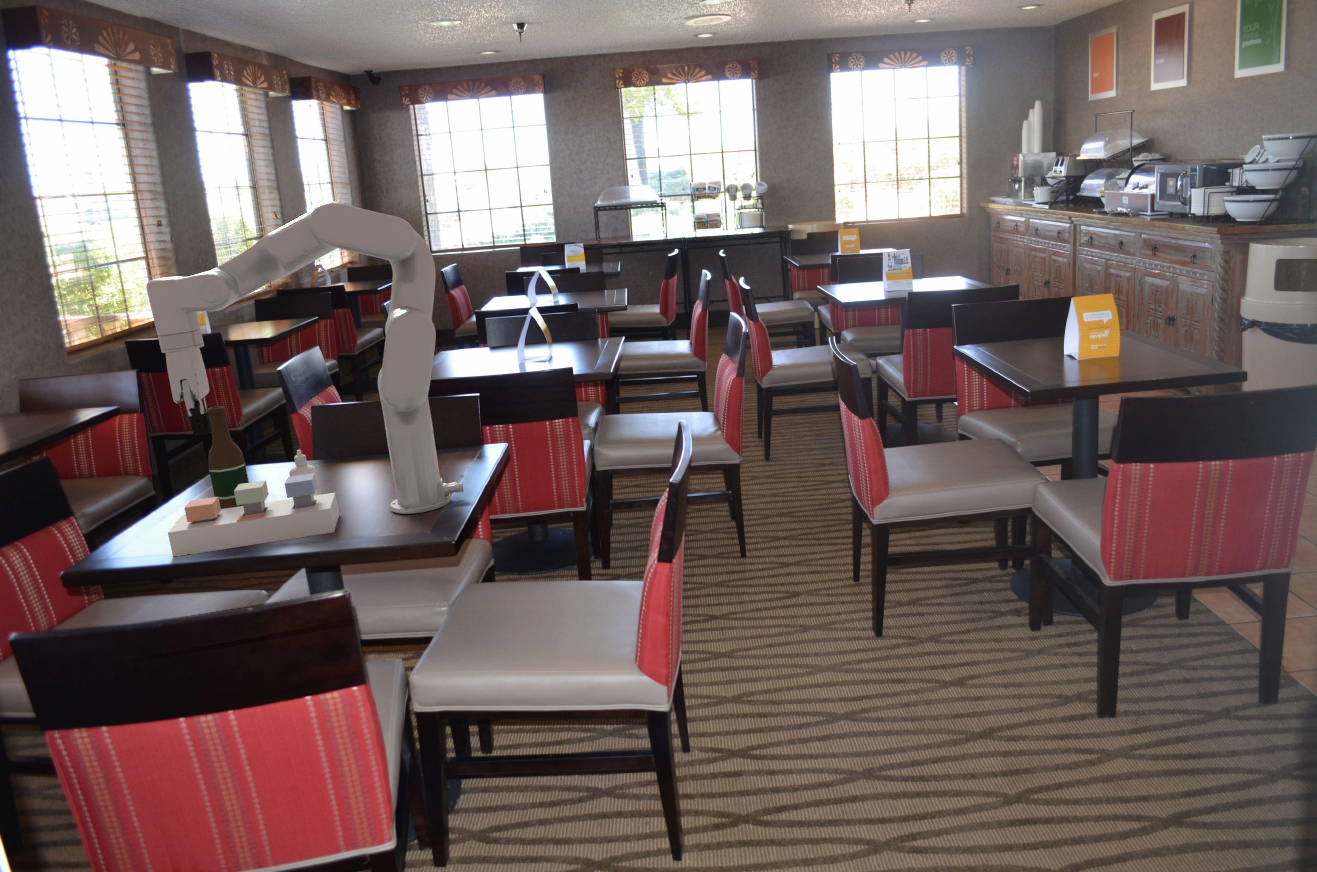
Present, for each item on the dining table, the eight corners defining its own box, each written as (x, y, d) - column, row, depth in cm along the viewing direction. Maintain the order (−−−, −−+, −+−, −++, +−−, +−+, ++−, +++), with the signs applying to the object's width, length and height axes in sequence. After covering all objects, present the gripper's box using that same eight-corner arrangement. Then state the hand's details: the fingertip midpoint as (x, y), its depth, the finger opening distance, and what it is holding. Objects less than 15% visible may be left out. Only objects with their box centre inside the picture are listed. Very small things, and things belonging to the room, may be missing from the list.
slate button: (321, 510, 198) (314, 473, 196) (318, 517, 193) (311, 479, 191) (295, 514, 197) (288, 477, 195) (291, 521, 192) (284, 483, 190)
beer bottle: (260, 506, 214) (240, 402, 209) (247, 517, 207) (225, 409, 201) (226, 509, 214) (204, 405, 209) (211, 520, 207) (189, 412, 201)
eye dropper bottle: (312, 504, 212) (302, 452, 209) (291, 504, 214) (281, 452, 211) (324, 498, 216) (315, 447, 213) (304, 498, 218) (294, 447, 215)
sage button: (273, 517, 196) (265, 480, 194) (269, 525, 191) (261, 486, 189) (246, 521, 195) (238, 484, 193) (241, 529, 190) (233, 490, 188)
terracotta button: (225, 534, 194) (218, 496, 192) (220, 542, 189) (212, 503, 187) (198, 538, 193) (190, 500, 191) (192, 546, 188) (184, 507, 186)
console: (339, 514, 202) (335, 491, 201) (334, 532, 191) (329, 506, 189) (187, 537, 196) (182, 513, 195) (173, 556, 184) (167, 531, 183)
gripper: (170, 340, 190) (191, 429, 194) (150, 349, 176) (173, 445, 180) (210, 334, 191) (230, 423, 196) (193, 343, 177) (215, 438, 182)
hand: (203, 433), depth 188 cm, fingers closed
